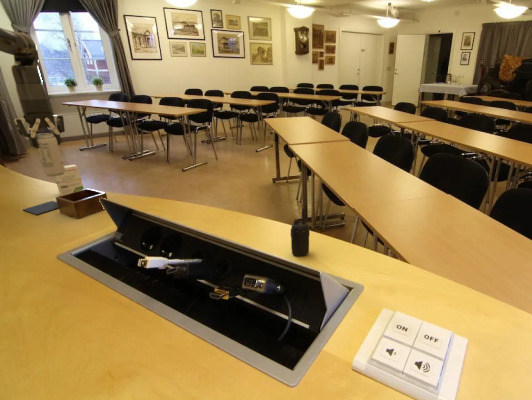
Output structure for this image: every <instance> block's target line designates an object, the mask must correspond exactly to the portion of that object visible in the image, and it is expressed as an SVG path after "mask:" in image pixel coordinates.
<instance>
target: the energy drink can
mask: <svg viewBox="0 0 532 400" xmlns="http://www.w3.org/2000/svg"><path fill="white" fill-rule="evenodd" d="M35 138H36V139H37V142H38V146H39V148H37V149H36V150H37V153H38V156H39V160H40V162H41V166H42V169H43V173H44V175H46V176H47V177H50V178H51V177H54V176H60V175H63V174H64V172H65V168H64V166H65V165H64V162H63V158H62V155H61V150H60V146H59V145H58V143H57V140H56V137H55V136H54V135H53V133H52V132H40V133H36V134H35Z"/></svg>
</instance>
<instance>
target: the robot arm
mask: <svg viewBox="0 0 532 400" xmlns="http://www.w3.org/2000/svg"><path fill="white" fill-rule="evenodd" d="M38 51H39V50H38V48H37V45H36V43H35V41H34V40H33V39H32V37H30V35H28V34H26V33H22V32H18V31H13V30H8V29H5V28H2V27H0V52H1V53H4V54H7V55H10V56H13V61H14V64H12V65H11V66H10V70H11V75H12V79H13V81H14V85H15V91H16V95H17V97H18V101H19V104H20V108H21V110H22V111H21V112H22V113H23V116H22V117H20V118H13V120H12V121H13V123H14V126H15V128H16V129H17V131H18V134H19V135H20V137H24V138H28V140H29V144H30V146H31V147H32V148H33V149H36V150H37V148H39V146H38V142H37V139H36V138H35V137H36V135H35V134H37V132H38V130H39V129H42V128H45V129H47V130H49V132H50V133H53V135H54V136H55V137H56V140H57V143H58V146H61V144H62V138H61V134H62V133H65V132H66V130H65V129H66V128H65V119H64V116H63V115H60V114H52V109H51V106H50V101H49V98H48V94H47V91H46V88H45V86H44V84H43V80H42V77H41V72H40V69H39V67H40V65H39V52H38ZM53 121H55V122H56V126H55V124H54V123H53ZM25 123H27V124H28V127H27V129H26V127H25V126H24V125H25Z"/></svg>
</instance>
